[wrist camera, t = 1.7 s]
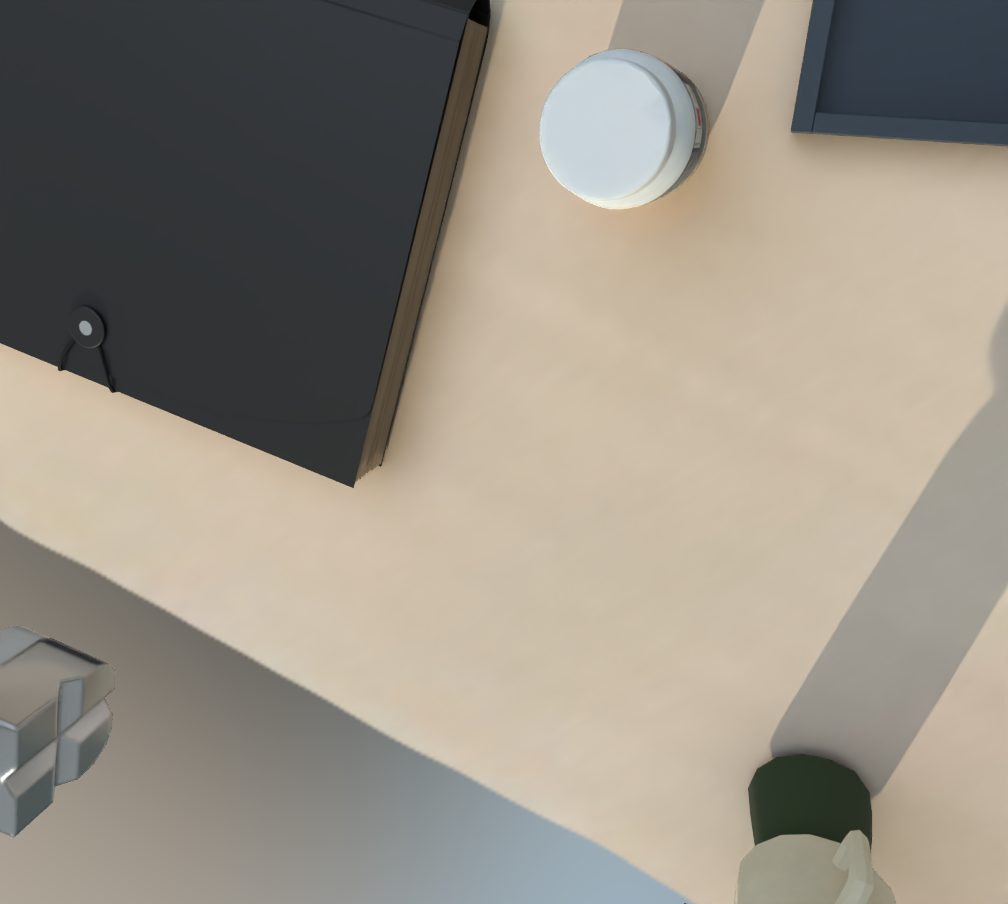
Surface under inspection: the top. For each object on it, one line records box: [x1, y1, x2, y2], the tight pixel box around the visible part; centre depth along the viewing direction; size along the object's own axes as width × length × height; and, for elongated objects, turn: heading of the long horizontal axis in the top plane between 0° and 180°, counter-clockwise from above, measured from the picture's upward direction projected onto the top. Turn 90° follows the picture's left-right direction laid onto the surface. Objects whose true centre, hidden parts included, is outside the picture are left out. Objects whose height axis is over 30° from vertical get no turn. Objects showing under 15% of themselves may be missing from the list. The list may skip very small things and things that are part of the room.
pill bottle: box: [539, 49, 709, 209], centre depth 34 cm, size 6×6×10 cm
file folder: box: [0, 0, 490, 488], centre depth 44 cm, size 33×4×24 cm
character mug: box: [735, 755, 896, 904], centre depth 41 cm, size 11×7×13 cm, turn 166°
